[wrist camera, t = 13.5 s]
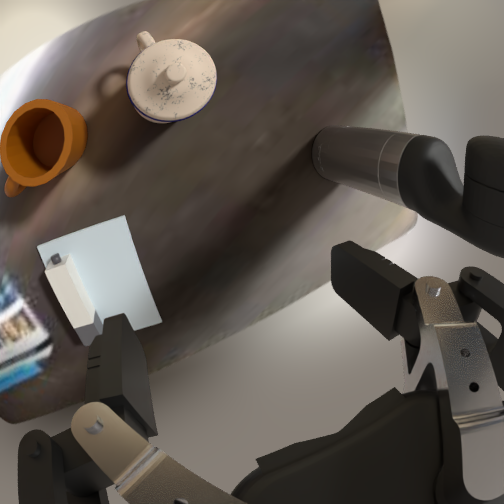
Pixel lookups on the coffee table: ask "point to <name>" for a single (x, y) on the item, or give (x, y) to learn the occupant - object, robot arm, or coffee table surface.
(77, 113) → the mug
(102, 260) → the paper pad
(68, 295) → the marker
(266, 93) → the coffee table surface
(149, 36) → the teacup with lid
